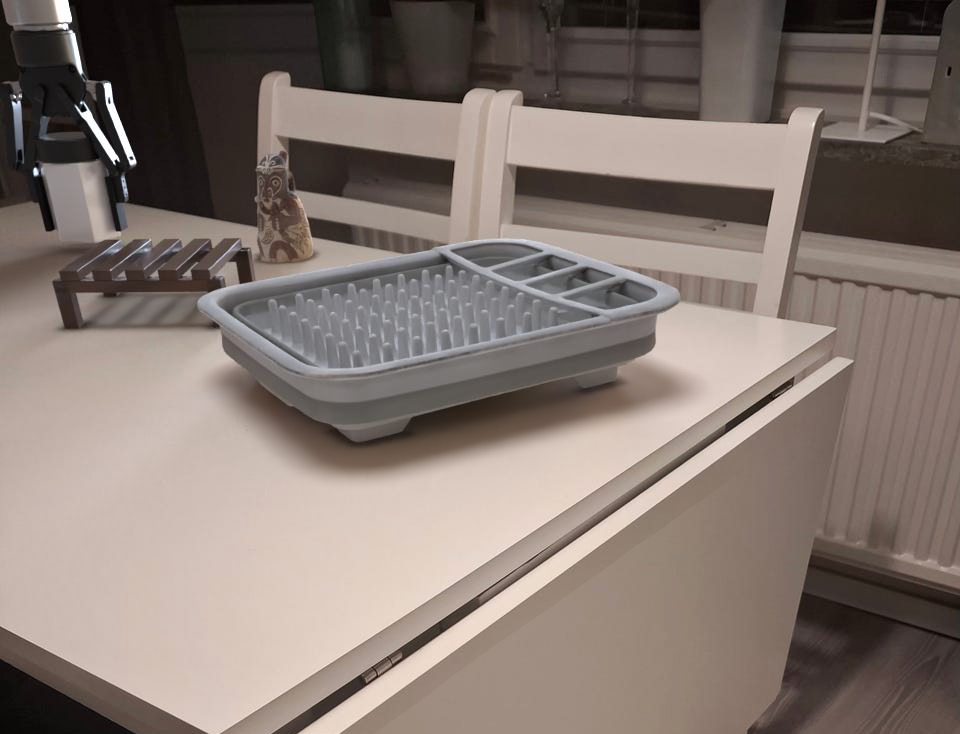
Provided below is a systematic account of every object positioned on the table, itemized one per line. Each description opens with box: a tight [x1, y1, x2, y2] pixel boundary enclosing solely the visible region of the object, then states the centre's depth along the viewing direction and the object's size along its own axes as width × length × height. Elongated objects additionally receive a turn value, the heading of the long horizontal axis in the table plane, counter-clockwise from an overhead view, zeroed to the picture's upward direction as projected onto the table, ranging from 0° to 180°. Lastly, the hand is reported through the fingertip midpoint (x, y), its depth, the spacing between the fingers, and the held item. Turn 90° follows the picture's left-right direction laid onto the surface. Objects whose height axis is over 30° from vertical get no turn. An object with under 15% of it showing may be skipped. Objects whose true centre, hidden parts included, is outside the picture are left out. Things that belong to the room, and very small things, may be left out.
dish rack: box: [196, 238, 682, 443], centre depth 92 cm, size 32×37×8 cm
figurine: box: [254, 150, 314, 264], centre depth 128 cm, size 7×7×12 cm
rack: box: [52, 237, 257, 330], centre depth 112 cm, size 18×14×6 cm
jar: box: [34, 131, 122, 244], centre depth 133 cm, size 9×8×12 cm
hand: (87, 229), depth 136 cm, fingers closed on jar, 9 cm apart
